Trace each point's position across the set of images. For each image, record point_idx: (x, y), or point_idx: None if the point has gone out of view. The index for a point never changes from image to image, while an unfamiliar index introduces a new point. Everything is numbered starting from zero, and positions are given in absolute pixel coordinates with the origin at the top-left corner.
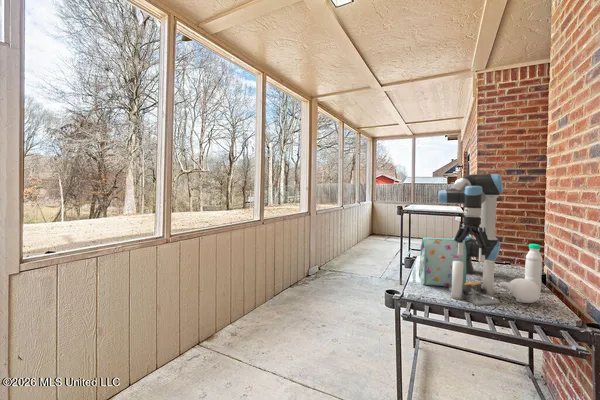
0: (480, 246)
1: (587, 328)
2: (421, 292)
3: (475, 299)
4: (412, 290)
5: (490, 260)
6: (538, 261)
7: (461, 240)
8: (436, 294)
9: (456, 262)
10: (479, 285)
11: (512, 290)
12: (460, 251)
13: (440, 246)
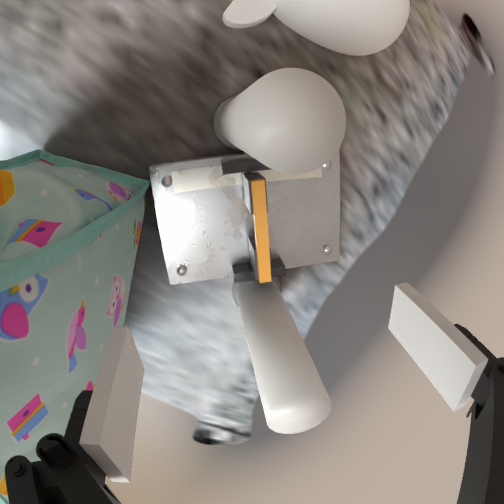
0: (472, 417)
1: (484, 57)
2: (196, 380)
3: (326, 256)
4: (178, 396)
5: (272, 80)
6: None
7: (113, 498)
8: (216, 343)
9: (310, 424)
10: (265, 190)
11: (331, 47)
12: (133, 382)
13: (33, 452)
